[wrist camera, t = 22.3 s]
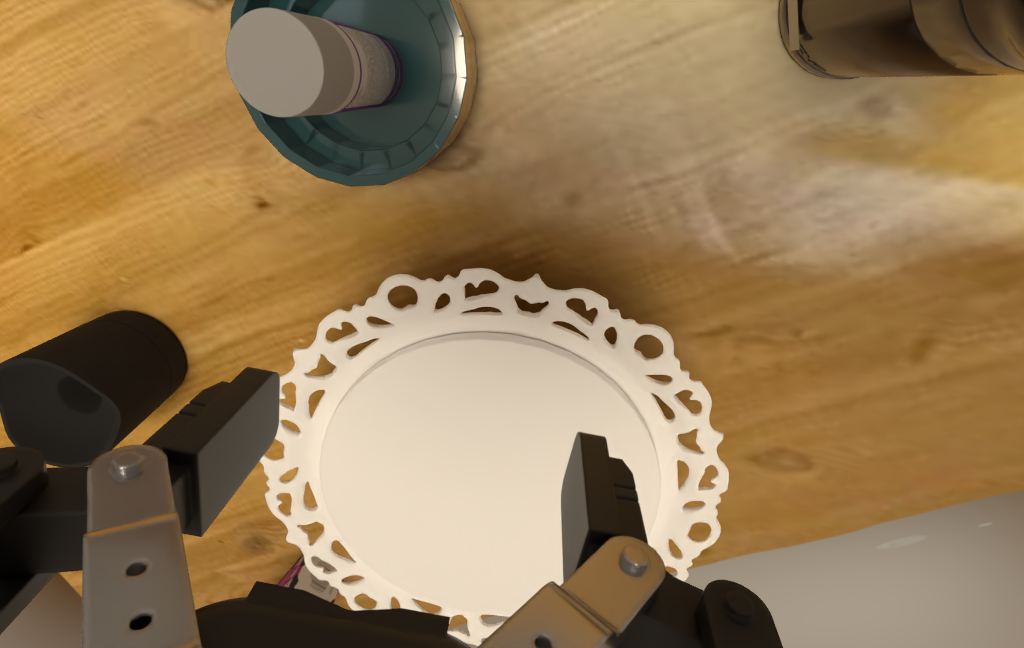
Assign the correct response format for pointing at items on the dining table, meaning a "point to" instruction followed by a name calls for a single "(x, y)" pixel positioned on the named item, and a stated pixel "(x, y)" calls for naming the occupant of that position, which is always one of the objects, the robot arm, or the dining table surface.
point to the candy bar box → (310, 579)
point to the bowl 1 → (403, 122)
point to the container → (310, 64)
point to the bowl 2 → (479, 444)
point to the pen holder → (89, 387)
